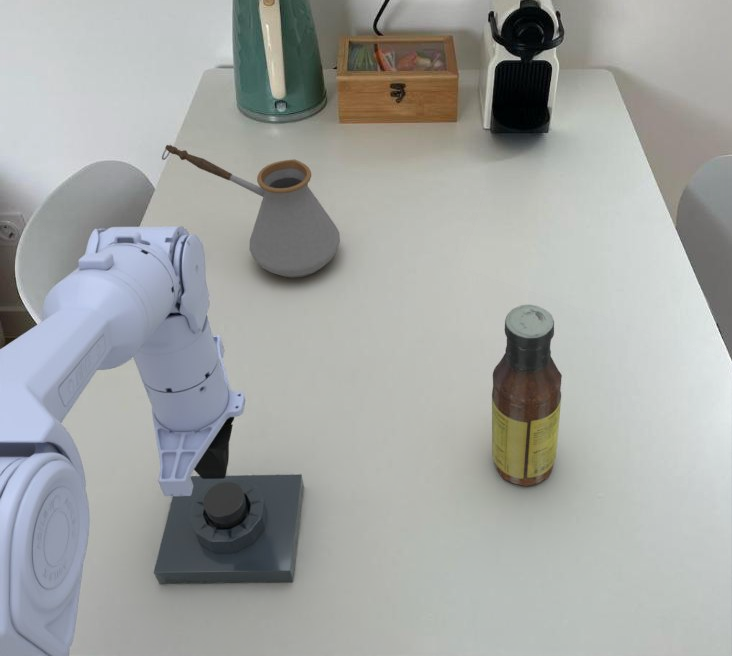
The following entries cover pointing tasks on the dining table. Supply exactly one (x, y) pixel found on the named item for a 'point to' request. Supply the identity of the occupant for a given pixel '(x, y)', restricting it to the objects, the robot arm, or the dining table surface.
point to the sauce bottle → (526, 399)
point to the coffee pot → (283, 217)
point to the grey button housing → (233, 534)
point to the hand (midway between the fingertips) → (214, 471)
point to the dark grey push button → (225, 505)
